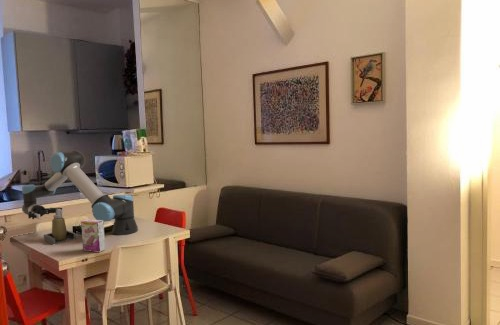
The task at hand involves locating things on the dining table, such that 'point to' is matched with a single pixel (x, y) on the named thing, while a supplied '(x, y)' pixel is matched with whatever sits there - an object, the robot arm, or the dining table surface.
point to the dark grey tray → (52, 240)
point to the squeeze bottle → (58, 226)
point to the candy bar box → (93, 235)
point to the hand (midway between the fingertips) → (51, 214)
